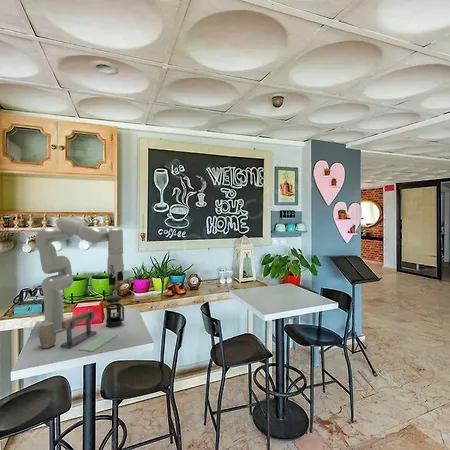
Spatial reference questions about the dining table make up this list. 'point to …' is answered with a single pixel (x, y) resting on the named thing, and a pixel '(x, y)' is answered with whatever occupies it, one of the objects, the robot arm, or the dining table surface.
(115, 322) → the french press
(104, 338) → the mat
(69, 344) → the rail stand
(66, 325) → the bar
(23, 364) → the dining table surface
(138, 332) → the dining table surface
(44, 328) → the carving
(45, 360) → the dining table surface
